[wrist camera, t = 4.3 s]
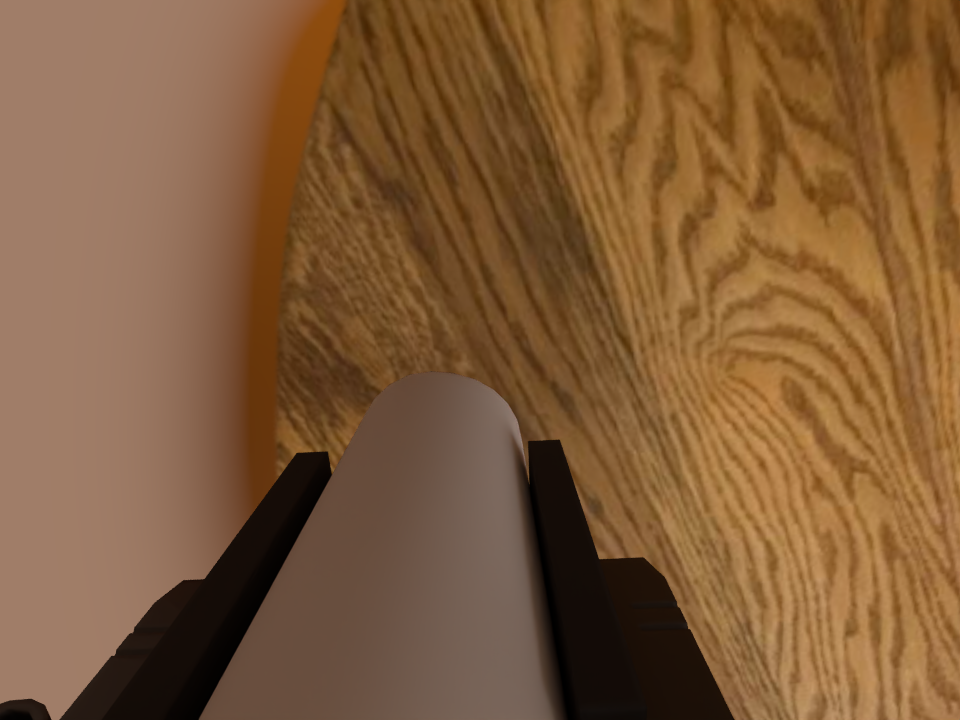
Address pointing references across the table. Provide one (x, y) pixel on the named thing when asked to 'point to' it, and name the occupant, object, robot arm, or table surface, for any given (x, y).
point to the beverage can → (410, 578)
